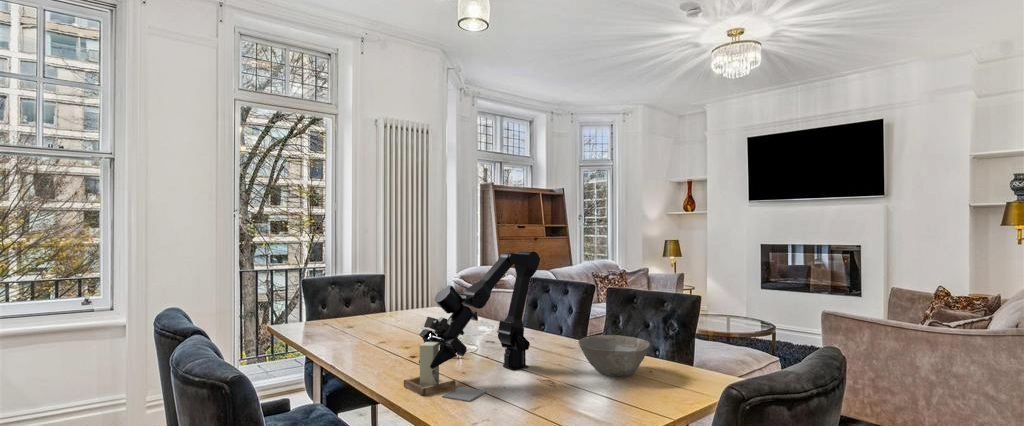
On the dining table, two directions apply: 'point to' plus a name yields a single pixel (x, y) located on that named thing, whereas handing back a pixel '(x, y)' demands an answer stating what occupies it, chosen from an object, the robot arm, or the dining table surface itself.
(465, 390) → the coaster
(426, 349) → the box
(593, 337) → the ceramic bowl
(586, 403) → the dining table surface
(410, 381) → the cradle
